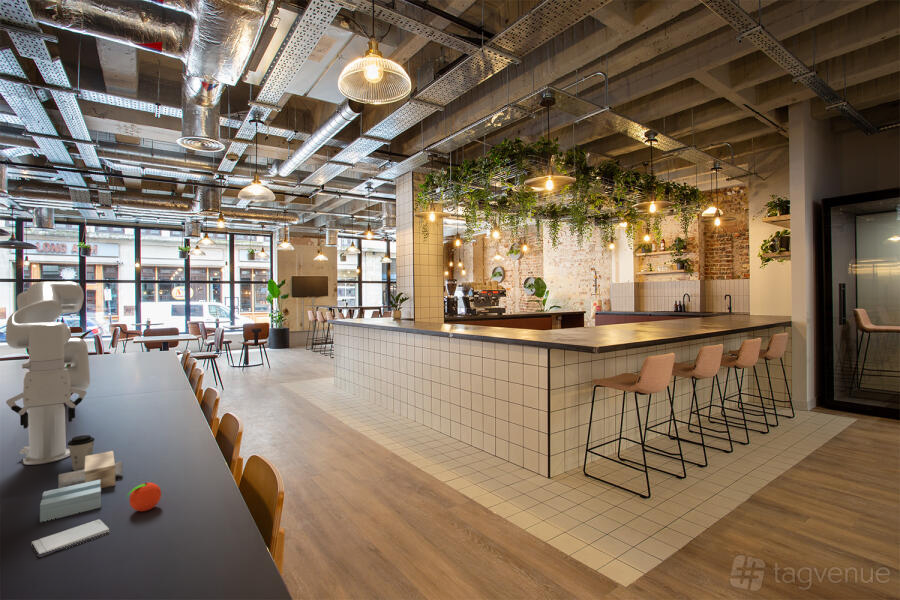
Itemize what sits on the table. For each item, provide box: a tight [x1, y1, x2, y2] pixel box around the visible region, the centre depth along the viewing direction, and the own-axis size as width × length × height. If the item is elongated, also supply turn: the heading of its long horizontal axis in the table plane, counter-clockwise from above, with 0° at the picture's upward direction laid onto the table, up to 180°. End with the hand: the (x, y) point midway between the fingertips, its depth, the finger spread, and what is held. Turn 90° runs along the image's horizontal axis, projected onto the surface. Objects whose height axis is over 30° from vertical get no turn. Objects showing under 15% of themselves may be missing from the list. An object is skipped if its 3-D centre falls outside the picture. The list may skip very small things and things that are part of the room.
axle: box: [57, 461, 123, 489], centre depth 134 cm, size 15×4×4 cm, turn 129°
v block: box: [39, 480, 102, 523], centre depth 118 cm, size 12×12×4 cm
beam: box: [85, 450, 116, 489], centre depth 135 cm, size 7×16×6 cm, turn 39°
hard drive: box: [31, 519, 110, 554], centre depth 102 cm, size 2×8×12 cm
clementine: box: [125, 482, 162, 512], centre depth 115 cm, size 8×7×7 cm
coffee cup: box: [67, 434, 95, 471], centre depth 145 cm, size 7×7×10 cm
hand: (48, 424), depth 128 cm, fingers open, 9 cm apart
